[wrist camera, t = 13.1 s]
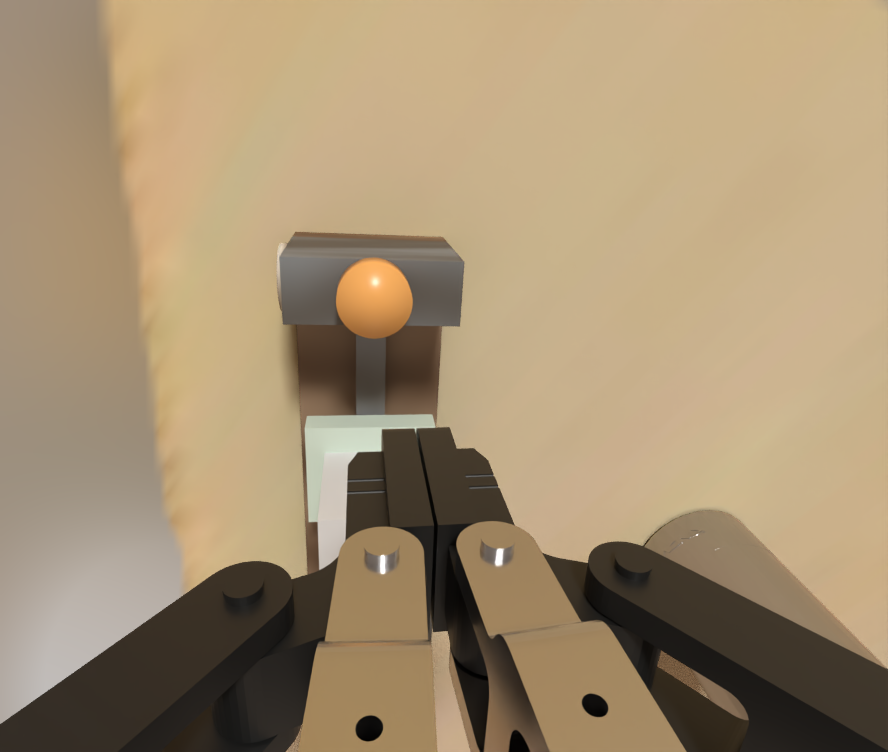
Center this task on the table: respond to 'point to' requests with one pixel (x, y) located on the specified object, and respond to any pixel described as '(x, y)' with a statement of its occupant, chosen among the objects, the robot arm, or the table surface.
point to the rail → (358, 358)
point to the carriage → (341, 467)
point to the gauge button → (373, 298)
